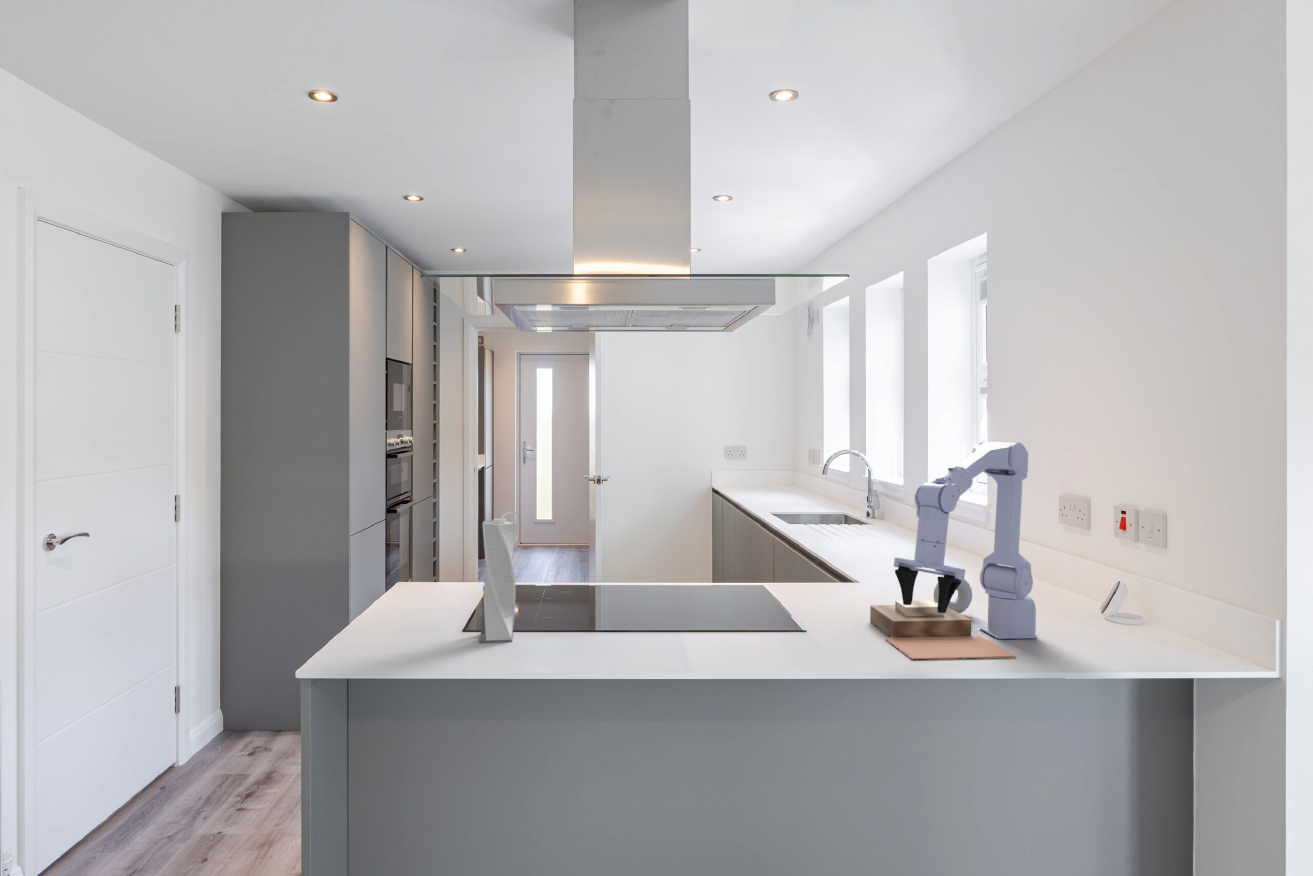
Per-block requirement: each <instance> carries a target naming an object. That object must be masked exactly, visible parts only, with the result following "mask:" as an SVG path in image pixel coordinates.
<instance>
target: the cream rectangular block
mask: <svg viewBox="0 0 1313 876" xmlns="http://www.w3.org/2000/svg"><path fill="white" fill-rule="evenodd" d="M894 605H895V609H896V610H897V611H899V612H900V613H902V614H903V615H905V616H943V615H944V613H939V612H938V603H936V602H934V599H933V600H930V599H929V600H912V603H911V605H904V604H903V600H895V603H894Z"/></svg>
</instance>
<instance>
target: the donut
mask: <svg viewBox="0 0 1313 876" xmlns="http://www.w3.org/2000/svg"><path fill="white" fill-rule="evenodd" d="M959 580H961V584H960V585H959V586H958V588H957V589H956V591H957V597H956V599H954V600H952V601H951V600H950V602H949V605H948V607H949V608H951V609H952V610H954V611H956V612H958V613H960V614H962V613H963V612H965V611H967V609H968V608H969V607H970V605H971V603H972V599H973V588H972V587H971V585H970V583H969V582H968V581H967V580H966V579H965V578H964V579H959ZM932 596H933V601H934V602H936V603H938V599H939V586H938V582H937V583H936V585H935V587H934V589H933V595H932Z"/></svg>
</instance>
